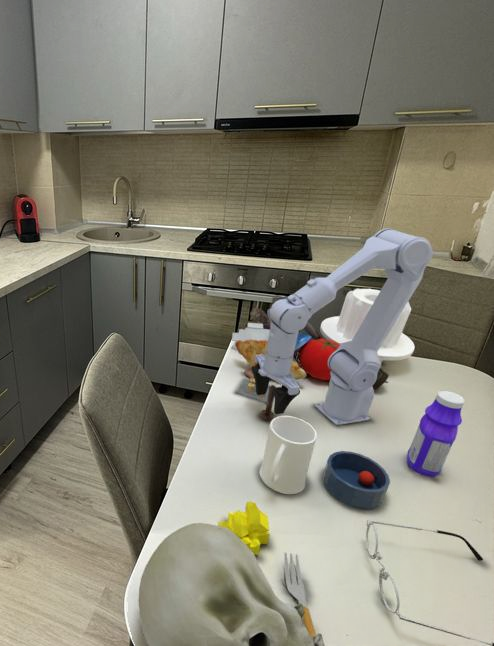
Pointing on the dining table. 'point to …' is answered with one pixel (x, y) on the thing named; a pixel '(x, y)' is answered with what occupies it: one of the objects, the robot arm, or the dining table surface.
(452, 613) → the dining table surface
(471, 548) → the eyeglasses
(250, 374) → the pottery shard
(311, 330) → the gun
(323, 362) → the tomato
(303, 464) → the mug
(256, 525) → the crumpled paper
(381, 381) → the cocoa
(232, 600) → the skull
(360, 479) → the ball
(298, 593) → the fork
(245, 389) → the dice set
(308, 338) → the cell model
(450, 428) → the bottle
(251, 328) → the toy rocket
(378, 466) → the bowl
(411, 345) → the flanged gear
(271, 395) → the flanged brown rod
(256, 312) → the bird
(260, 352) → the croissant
